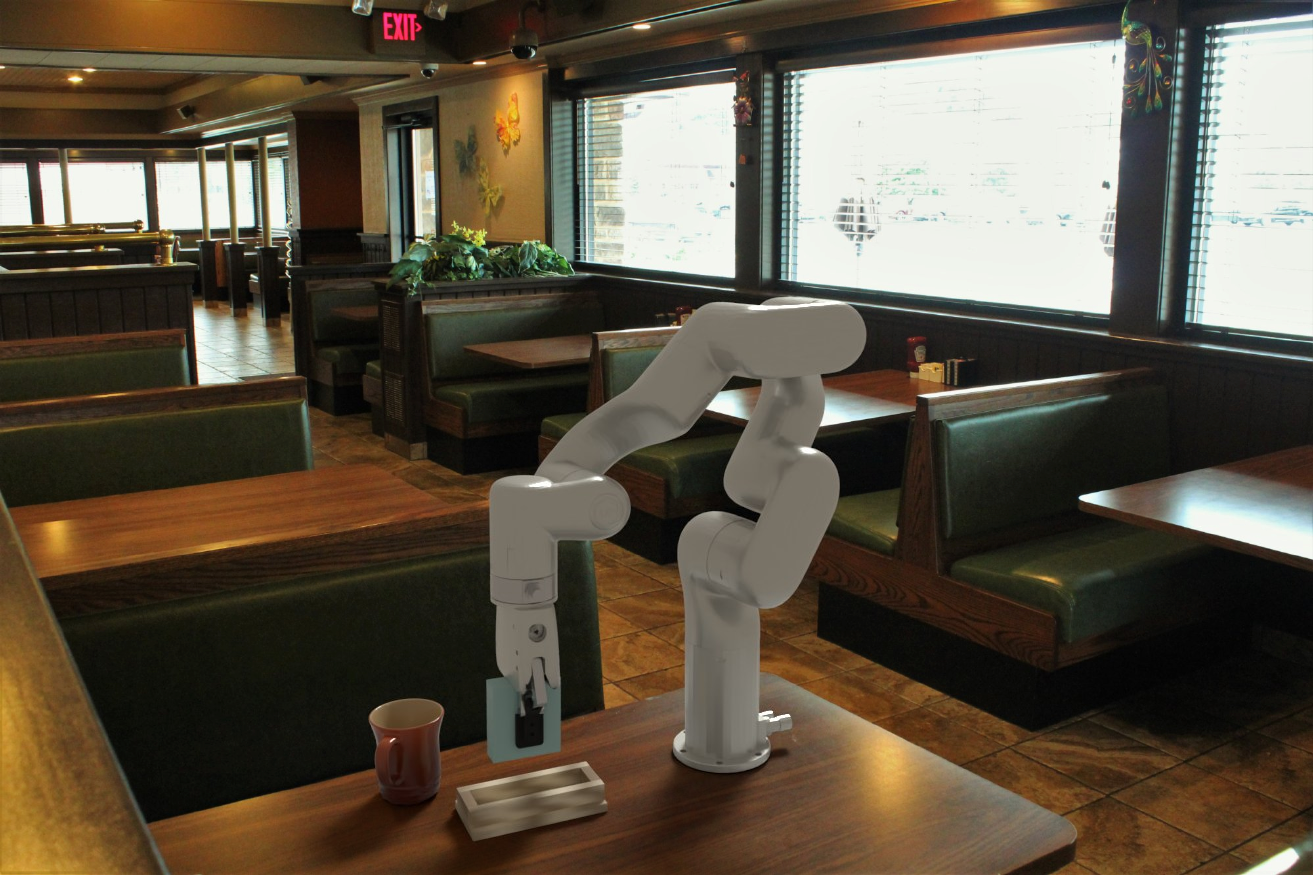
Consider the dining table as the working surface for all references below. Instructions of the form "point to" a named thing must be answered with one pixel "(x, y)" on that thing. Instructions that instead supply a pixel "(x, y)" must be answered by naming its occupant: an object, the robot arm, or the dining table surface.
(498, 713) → the door panel
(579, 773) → the pale wooden tray
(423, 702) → the mug
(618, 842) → the dining table surface
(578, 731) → the dining table surface
